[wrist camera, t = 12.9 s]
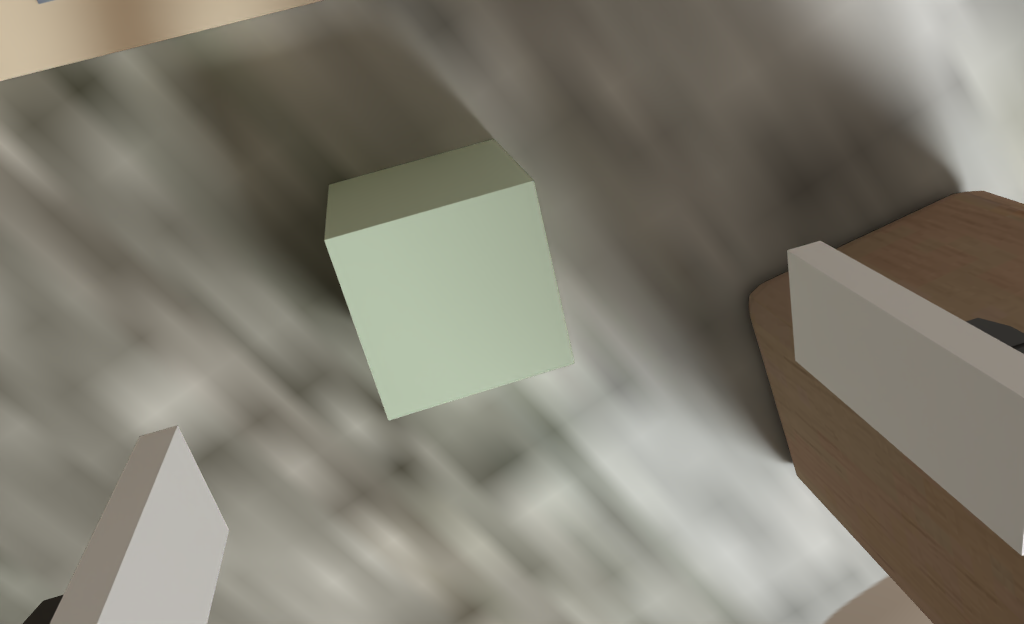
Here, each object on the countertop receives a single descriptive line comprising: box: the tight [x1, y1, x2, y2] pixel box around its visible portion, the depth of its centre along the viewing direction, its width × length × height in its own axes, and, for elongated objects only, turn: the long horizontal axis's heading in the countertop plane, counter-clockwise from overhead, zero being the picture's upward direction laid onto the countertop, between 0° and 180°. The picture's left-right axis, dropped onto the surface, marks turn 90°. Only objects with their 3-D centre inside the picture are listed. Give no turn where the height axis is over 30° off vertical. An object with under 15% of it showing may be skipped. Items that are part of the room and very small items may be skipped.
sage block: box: [324, 139, 575, 420], centre depth 23 cm, size 6×6×6 cm
